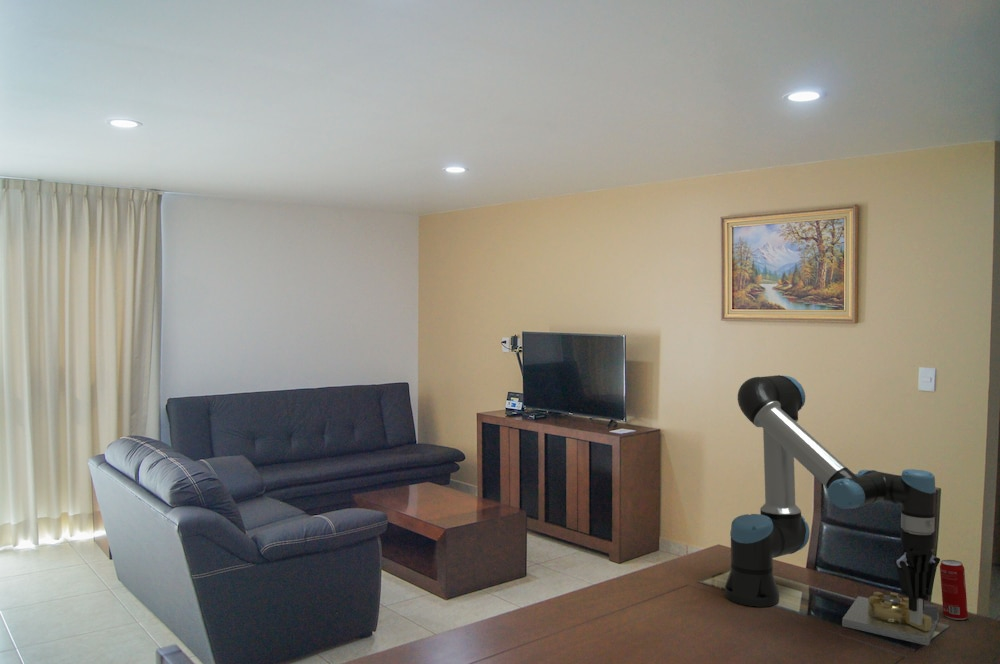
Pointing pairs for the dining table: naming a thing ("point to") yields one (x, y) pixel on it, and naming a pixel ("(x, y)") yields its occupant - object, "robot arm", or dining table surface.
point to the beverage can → (953, 589)
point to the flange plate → (889, 623)
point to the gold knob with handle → (894, 610)
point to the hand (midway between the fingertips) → (916, 622)
